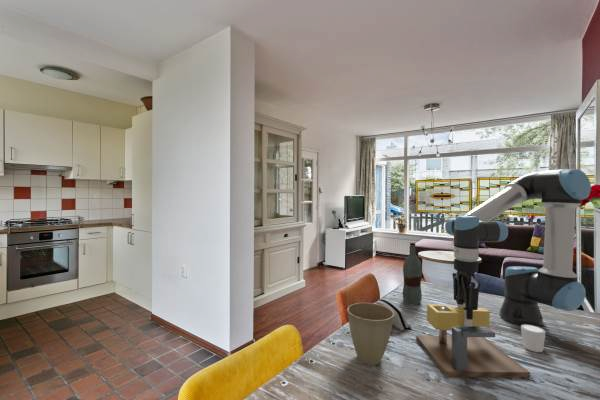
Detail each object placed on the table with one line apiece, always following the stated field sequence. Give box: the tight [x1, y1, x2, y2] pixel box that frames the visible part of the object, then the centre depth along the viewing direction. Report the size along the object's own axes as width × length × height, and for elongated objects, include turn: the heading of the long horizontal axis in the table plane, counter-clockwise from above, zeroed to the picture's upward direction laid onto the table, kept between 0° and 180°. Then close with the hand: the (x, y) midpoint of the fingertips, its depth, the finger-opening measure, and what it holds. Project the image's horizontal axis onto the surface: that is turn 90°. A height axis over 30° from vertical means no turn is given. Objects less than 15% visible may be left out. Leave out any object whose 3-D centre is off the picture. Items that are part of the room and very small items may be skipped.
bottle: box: [402, 242, 423, 306], centre depth 146 cm, size 9×9×30 cm
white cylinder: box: [520, 324, 547, 353], centre depth 102 cm, size 7×7×7 cm
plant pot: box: [347, 302, 394, 366], centre depth 95 cm, size 15×15×16 cm
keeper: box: [451, 326, 496, 371], centre depth 87 cm, size 11×4×13 cm, turn 90°
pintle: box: [438, 306, 448, 344], centre depth 103 cm, size 2×2×14 cm
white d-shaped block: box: [375, 298, 412, 331], centre depth 123 cm, size 17×5×10 cm, turn 17°
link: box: [426, 303, 491, 331], centre depth 102 cm, size 20×8×6 cm, turn 90°
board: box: [415, 335, 531, 378], centre depth 97 cm, size 25×22×2 cm
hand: (464, 324), depth 102 cm, fingers closed on link, 3 cm apart
